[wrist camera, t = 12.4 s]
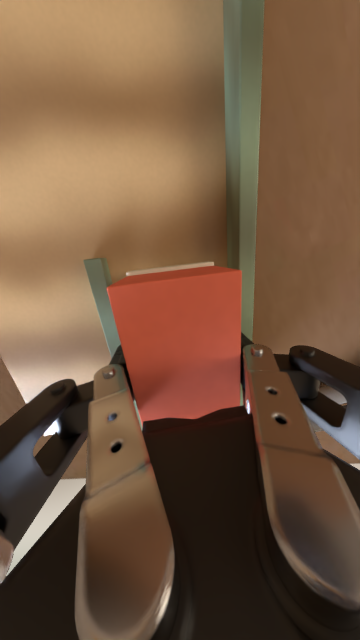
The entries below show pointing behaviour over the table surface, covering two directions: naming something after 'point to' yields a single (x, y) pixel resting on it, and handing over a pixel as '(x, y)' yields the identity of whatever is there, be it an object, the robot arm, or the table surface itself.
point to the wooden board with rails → (119, 165)
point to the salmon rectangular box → (180, 338)
